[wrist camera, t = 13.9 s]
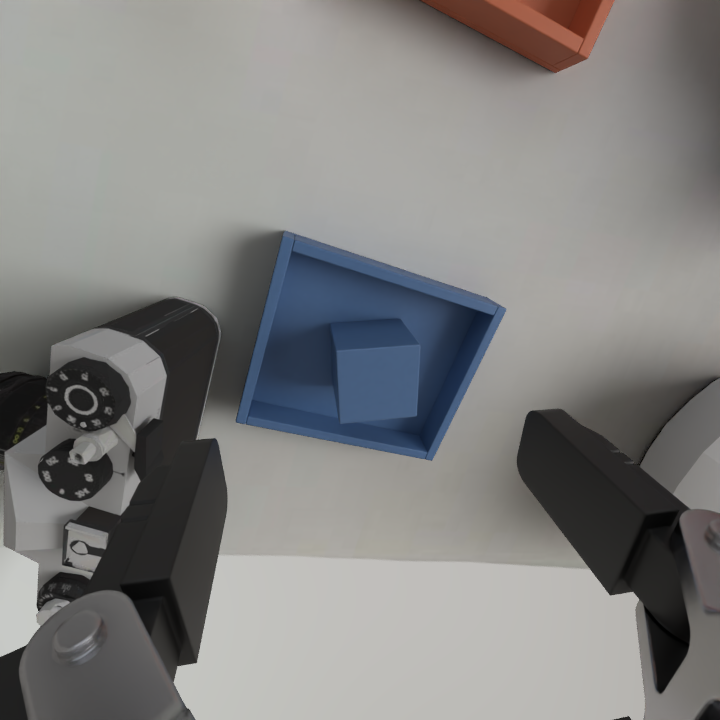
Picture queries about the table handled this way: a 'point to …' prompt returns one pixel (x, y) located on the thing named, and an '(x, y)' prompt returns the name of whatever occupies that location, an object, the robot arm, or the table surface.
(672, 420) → the bowl
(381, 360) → the blue block
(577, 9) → the terracotta tray
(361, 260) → the blue tray
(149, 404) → the camera
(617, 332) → the table surface
